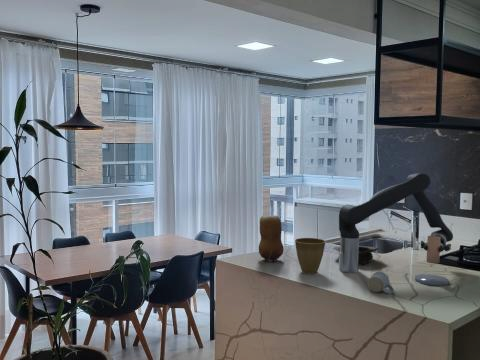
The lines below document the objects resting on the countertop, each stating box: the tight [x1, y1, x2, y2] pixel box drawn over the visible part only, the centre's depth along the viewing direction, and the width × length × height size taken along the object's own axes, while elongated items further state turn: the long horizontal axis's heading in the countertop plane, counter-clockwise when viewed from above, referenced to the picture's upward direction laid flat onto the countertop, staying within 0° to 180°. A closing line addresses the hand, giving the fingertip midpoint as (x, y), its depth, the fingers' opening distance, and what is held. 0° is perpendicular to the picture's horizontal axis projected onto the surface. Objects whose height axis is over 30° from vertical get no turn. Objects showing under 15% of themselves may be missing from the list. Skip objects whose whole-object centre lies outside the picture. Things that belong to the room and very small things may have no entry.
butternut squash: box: [258, 214, 284, 262], centre depth 254 cm, size 14×13×25 cm
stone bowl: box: [332, 245, 380, 266], centre depth 258 cm, size 25×25×9 cm
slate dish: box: [414, 273, 450, 287], centre depth 221 cm, size 15×15×1 cm
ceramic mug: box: [367, 271, 395, 295], centre depth 205 cm, size 11×8×8 cm
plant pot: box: [294, 237, 326, 275], centre depth 233 cm, size 15×15×16 cm
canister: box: [426, 235, 441, 265], centre depth 220 cm, size 6×6×12 cm
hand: (432, 249), depth 218 cm, fingers closed on canister, 5 cm apart
